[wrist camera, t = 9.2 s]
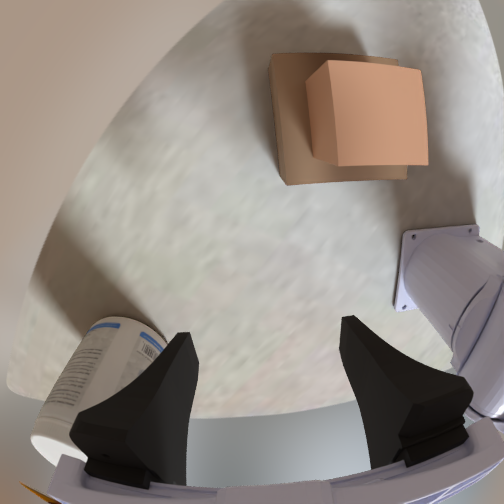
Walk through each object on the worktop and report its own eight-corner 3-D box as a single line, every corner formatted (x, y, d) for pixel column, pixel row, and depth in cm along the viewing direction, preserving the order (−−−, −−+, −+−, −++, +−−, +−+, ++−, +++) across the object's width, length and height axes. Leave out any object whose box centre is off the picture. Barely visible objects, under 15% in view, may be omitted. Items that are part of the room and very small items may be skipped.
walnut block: (373, 70, 17) (397, 59, 13) (382, 170, 20) (407, 179, 16) (268, 69, 17) (272, 53, 13) (279, 176, 20) (286, 185, 16)
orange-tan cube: (378, 83, 14) (420, 70, 9) (384, 155, 16) (428, 165, 11) (305, 81, 14) (327, 60, 9) (313, 157, 16) (338, 166, 11)
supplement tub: (94, 364, 28) (45, 465, 14) (89, 299, 24) (7, 412, 11) (172, 389, 29) (146, 505, 15) (182, 328, 25) (142, 473, 12)
